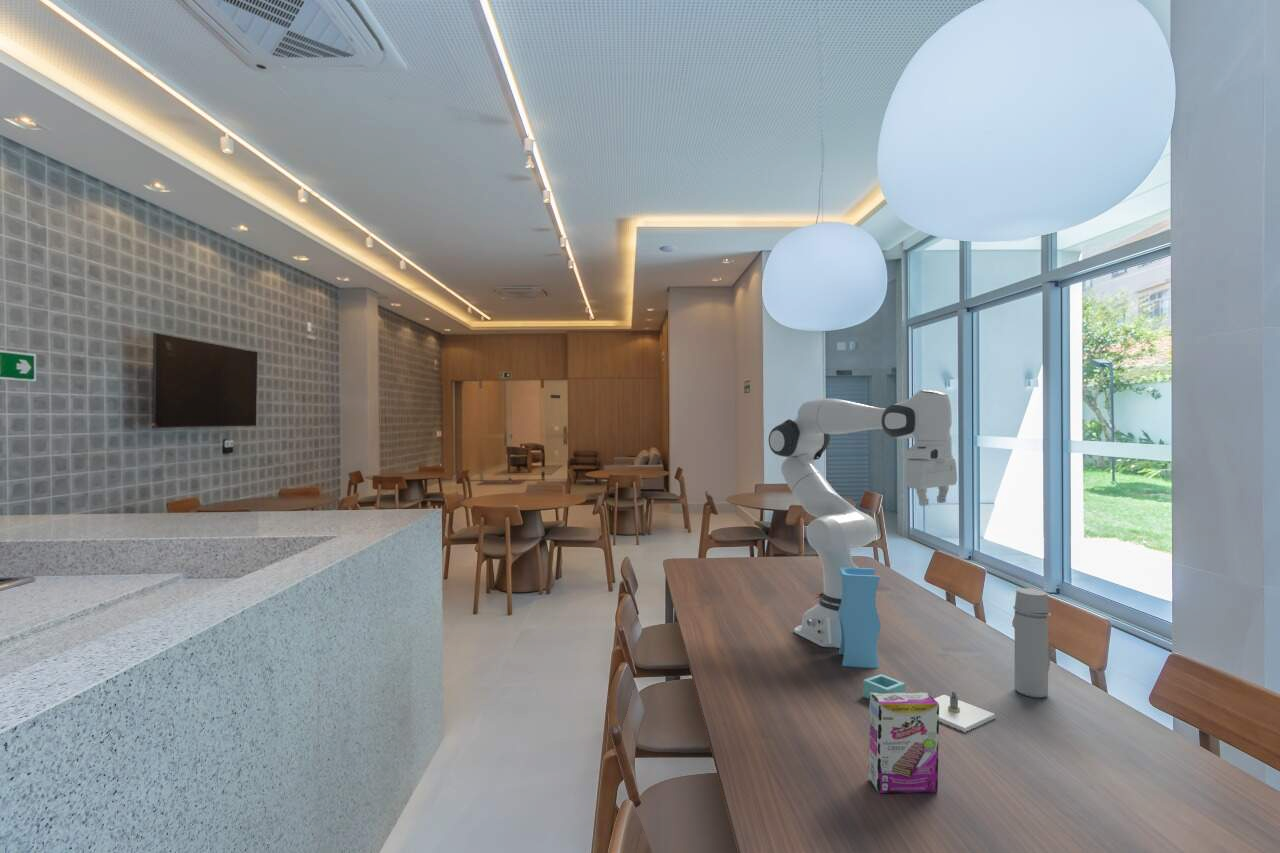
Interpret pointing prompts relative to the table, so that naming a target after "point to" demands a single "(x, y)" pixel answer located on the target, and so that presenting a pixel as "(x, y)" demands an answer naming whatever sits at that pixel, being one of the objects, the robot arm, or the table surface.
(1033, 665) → the water bottle
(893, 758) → the candy bar box
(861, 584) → the vase
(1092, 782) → the table surface
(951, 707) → the post stand
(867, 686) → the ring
